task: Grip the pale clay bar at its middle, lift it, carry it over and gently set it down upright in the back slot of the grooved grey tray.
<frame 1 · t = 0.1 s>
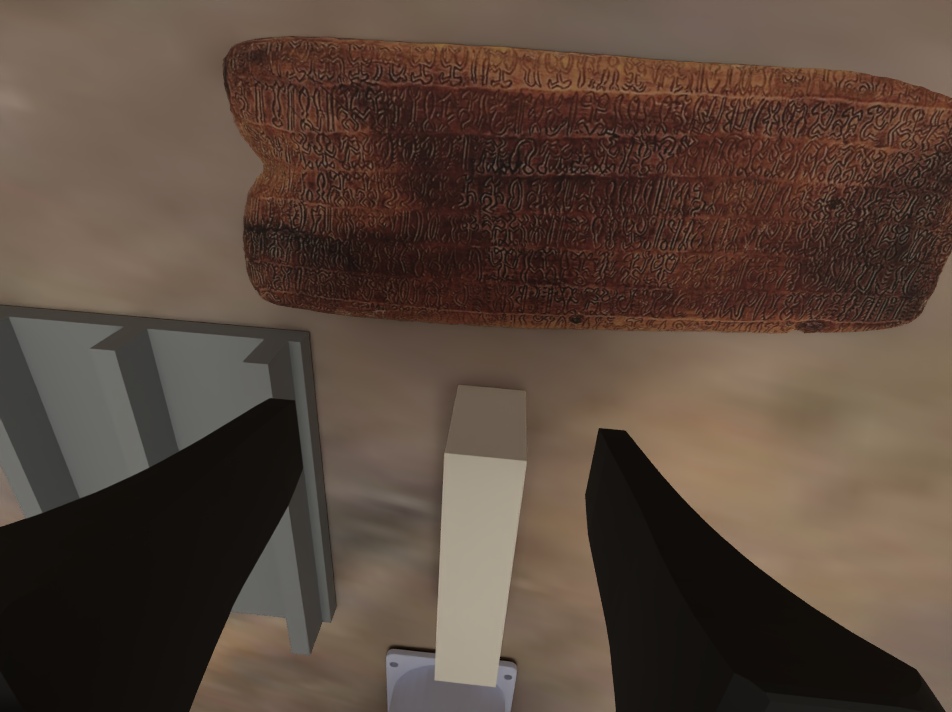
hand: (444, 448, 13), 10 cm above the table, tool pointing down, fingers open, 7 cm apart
clay bar: (481, 503, 27), on the table
grooved grey tray: (190, 478, 27), on the table
wooden tablet: (585, 205, 20), on the table
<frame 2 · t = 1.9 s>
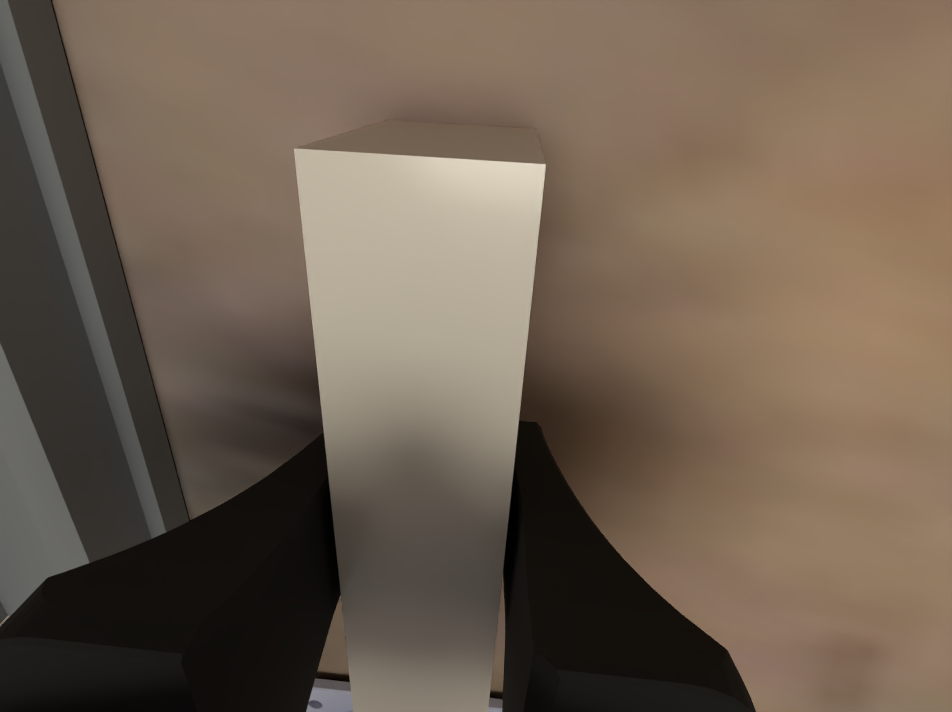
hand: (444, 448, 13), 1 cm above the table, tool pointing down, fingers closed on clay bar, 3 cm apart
clay bar: (451, 412, 14), on the table, touching gripper
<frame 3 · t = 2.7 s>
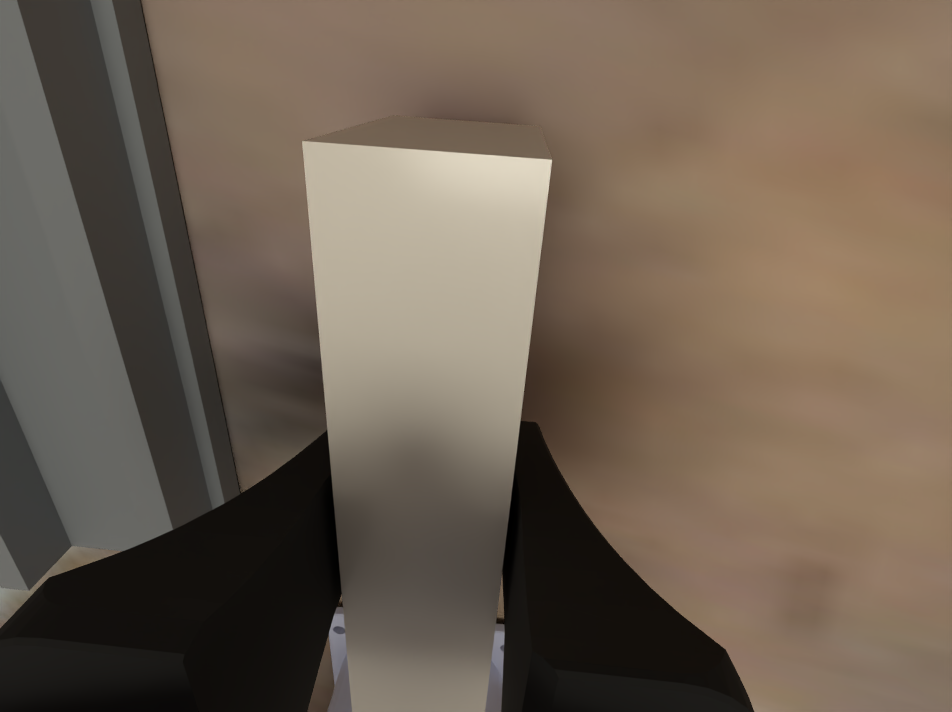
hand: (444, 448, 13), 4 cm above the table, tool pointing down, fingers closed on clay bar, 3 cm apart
clay bar: (452, 408, 14), point 3 cm above the table, touching gripper
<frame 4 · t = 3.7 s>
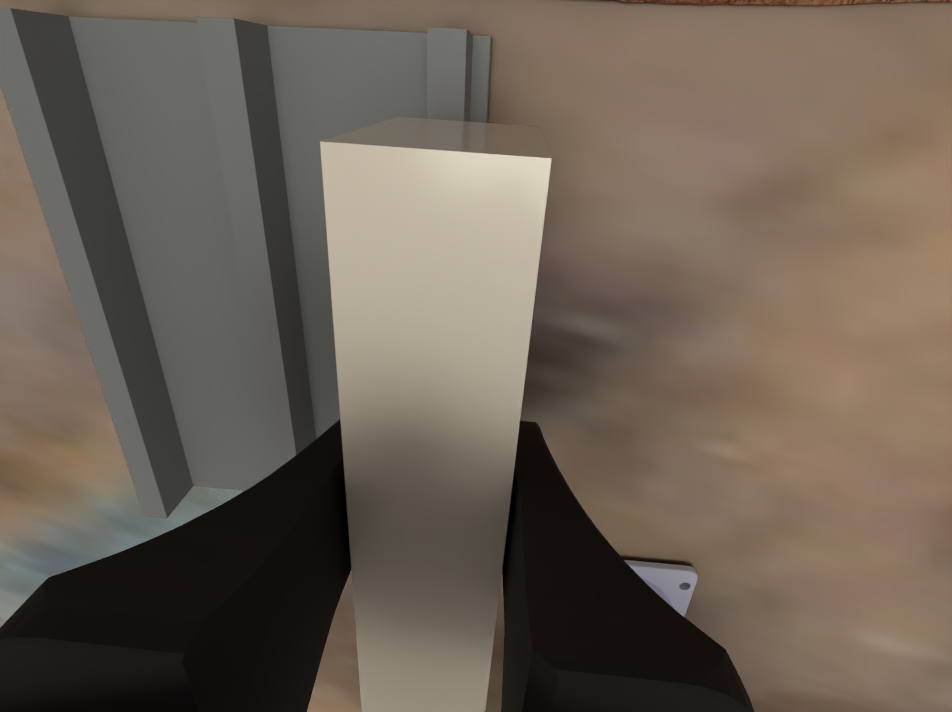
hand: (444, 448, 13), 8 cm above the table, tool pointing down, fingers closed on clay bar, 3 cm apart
clay bar: (454, 399, 14), point 6 cm above the table, touching gripper
grooved grey tray: (297, 301, 20), on the table
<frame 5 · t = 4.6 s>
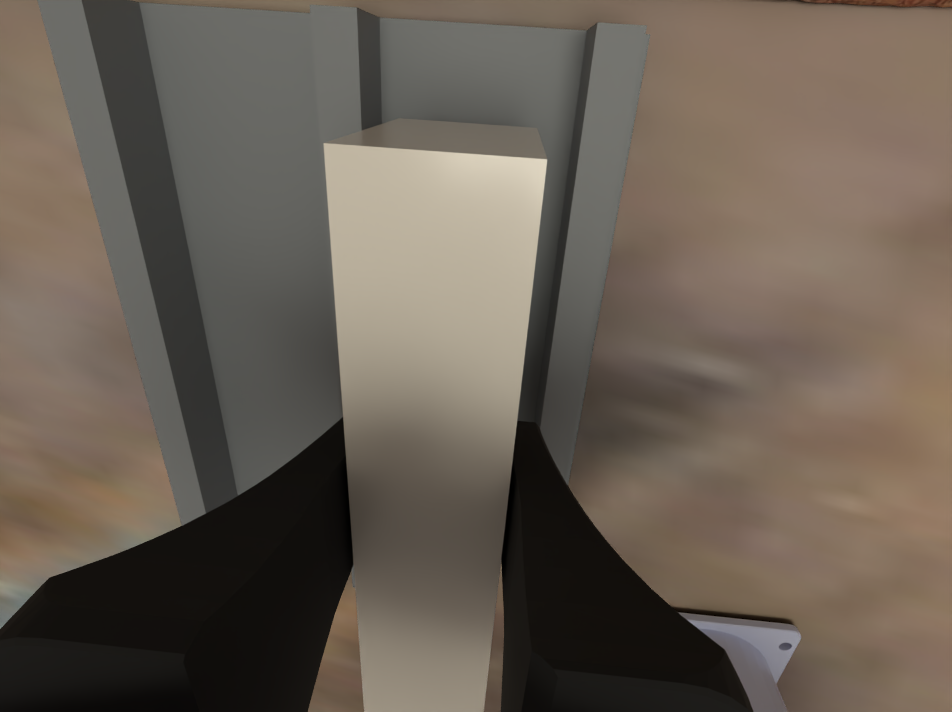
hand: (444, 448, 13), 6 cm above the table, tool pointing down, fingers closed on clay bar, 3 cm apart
clay bar: (454, 396, 15), point 3 cm above the table, touching gripper
grooved grey tray: (379, 333, 18), on the table
when the fingers open (4 cm above the table, at t = 5.3 s): clay bar stays where it is, resting on grooved grey tray.
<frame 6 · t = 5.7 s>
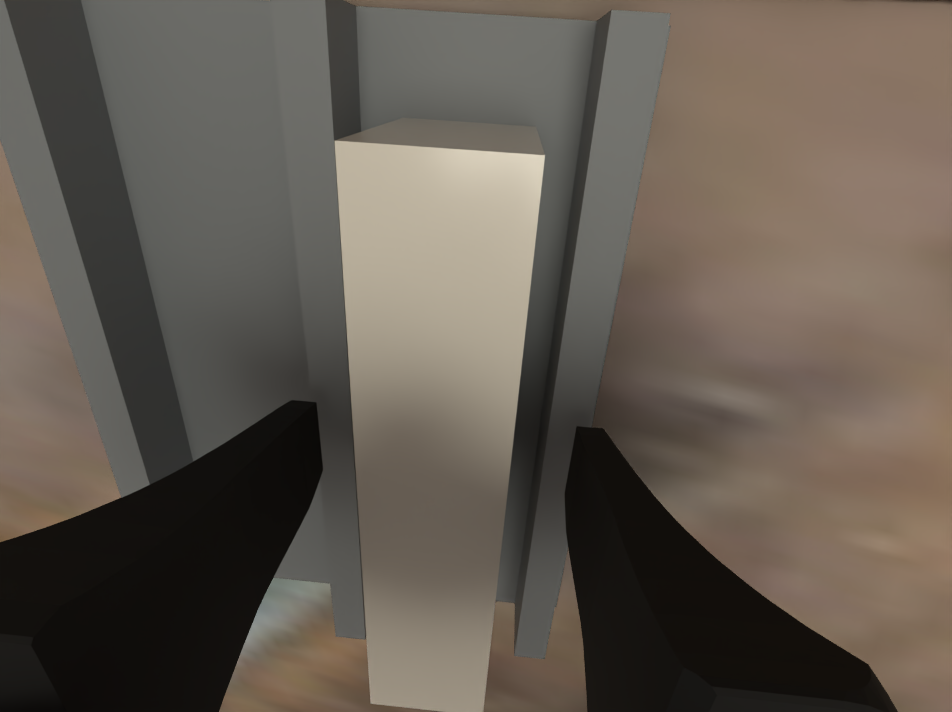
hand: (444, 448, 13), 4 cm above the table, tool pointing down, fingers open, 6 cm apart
clay bar: (456, 387, 15), point 1 cm above the table, touching grooved grey tray
grooved grey tray: (362, 360, 16), on the table
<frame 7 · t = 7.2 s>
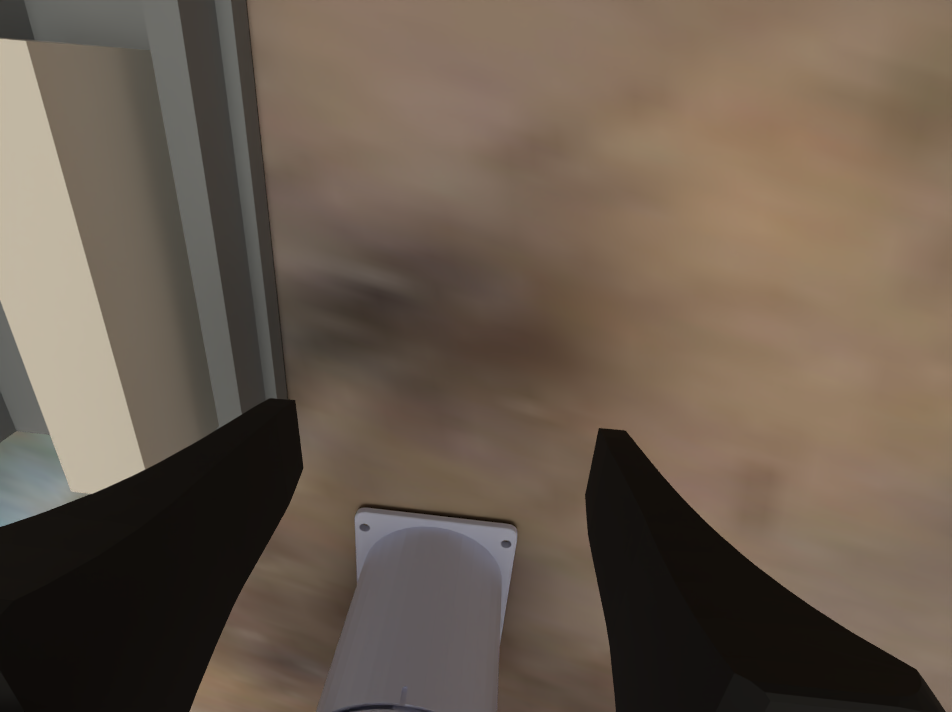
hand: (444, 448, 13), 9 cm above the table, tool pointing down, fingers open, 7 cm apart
clay bar: (157, 262, 20), point 1 cm above the table, touching grooved grey tray
grooved grey tray: (98, 245, 21), on the table
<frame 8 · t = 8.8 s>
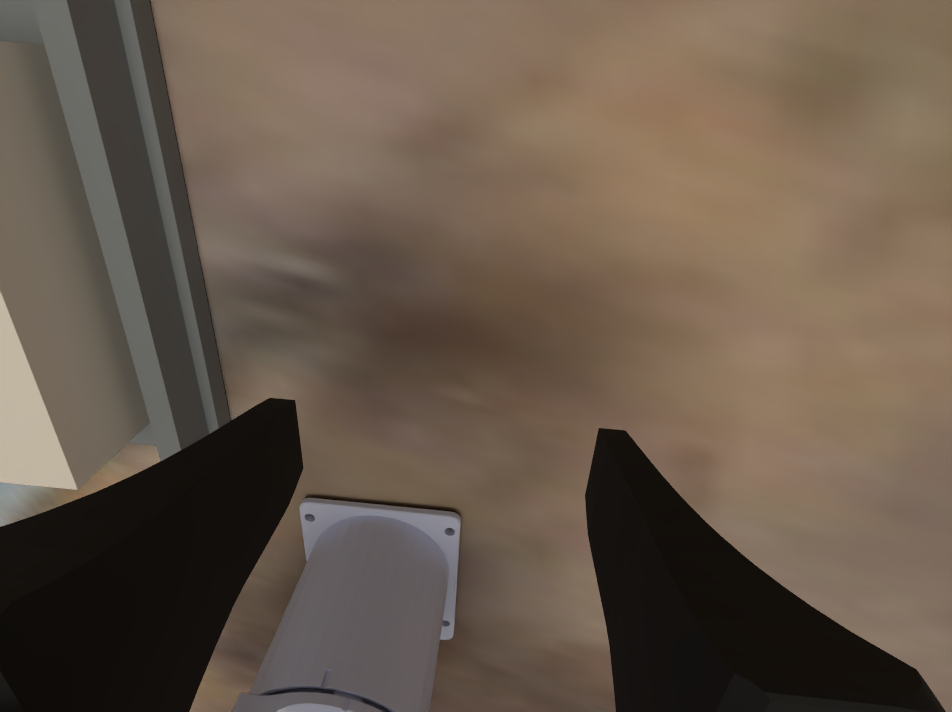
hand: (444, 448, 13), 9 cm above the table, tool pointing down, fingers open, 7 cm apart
clay bar: (82, 255, 20), point 1 cm above the table, touching grooved grey tray
grooved grey tray: (27, 240, 21), on the table
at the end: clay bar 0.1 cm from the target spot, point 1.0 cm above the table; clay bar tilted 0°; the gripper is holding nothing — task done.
